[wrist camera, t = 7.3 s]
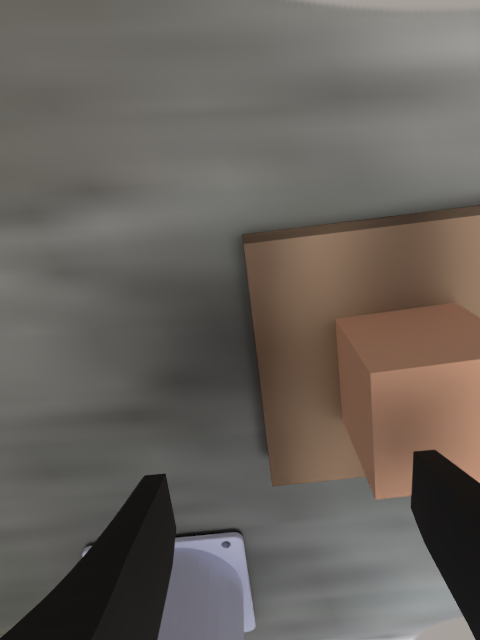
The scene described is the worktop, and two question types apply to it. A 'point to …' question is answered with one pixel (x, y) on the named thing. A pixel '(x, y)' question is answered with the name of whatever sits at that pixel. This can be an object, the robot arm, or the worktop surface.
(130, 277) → the worktop surface
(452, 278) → the walnut block
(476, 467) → the terracotta cube
